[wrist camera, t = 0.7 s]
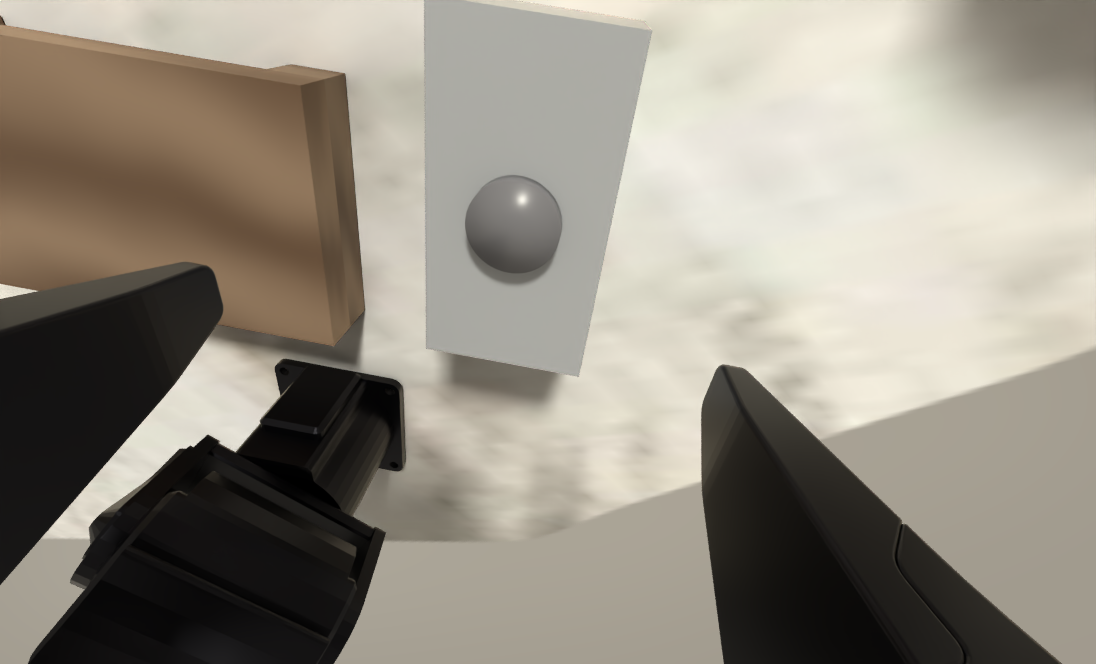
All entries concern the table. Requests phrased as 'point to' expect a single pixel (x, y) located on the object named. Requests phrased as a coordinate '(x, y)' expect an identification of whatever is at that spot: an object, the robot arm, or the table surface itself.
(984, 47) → the table surface
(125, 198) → the walnut stand
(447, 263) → the block
